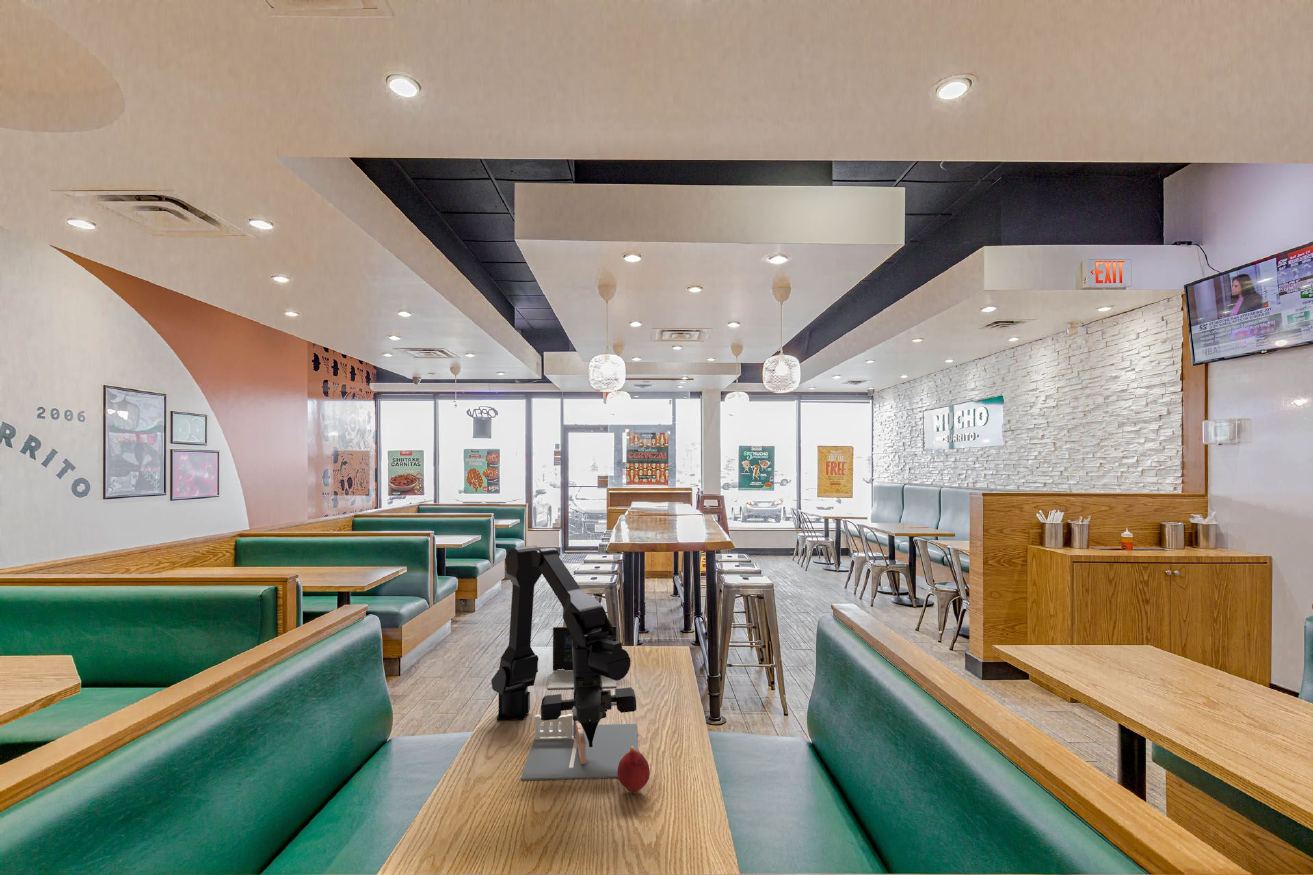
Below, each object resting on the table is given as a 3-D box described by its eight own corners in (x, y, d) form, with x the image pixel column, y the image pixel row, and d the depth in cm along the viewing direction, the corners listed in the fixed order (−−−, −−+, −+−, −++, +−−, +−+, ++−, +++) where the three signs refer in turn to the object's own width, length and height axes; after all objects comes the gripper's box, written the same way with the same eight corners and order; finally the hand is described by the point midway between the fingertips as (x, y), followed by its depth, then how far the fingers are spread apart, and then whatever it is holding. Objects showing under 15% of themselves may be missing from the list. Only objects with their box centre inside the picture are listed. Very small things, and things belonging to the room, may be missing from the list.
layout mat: (520, 780, 111) (520, 778, 111) (538, 727, 132) (538, 725, 133) (638, 777, 112) (638, 775, 112) (637, 725, 134) (637, 723, 134)
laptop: (547, 690, 154) (547, 640, 155) (552, 673, 167) (552, 626, 167) (616, 689, 155) (616, 638, 156) (616, 672, 168) (616, 625, 168)
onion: (654, 786, 108) (654, 742, 109) (643, 804, 103) (643, 757, 103) (624, 781, 110) (624, 737, 110) (612, 797, 105) (612, 751, 105)
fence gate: (573, 735, 127) (573, 714, 128) (579, 734, 128) (579, 713, 128) (579, 766, 115) (579, 742, 115) (587, 765, 115) (587, 742, 115)
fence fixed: (534, 739, 126) (535, 716, 126) (535, 737, 127) (535, 714, 127) (571, 738, 126) (571, 715, 127) (572, 736, 127) (572, 713, 128)
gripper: (537, 687, 110) (540, 772, 110) (637, 678, 113) (641, 761, 112) (541, 666, 121) (544, 744, 121) (632, 658, 124) (635, 734, 123)
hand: (590, 746), depth 119 cm, fingers closed
